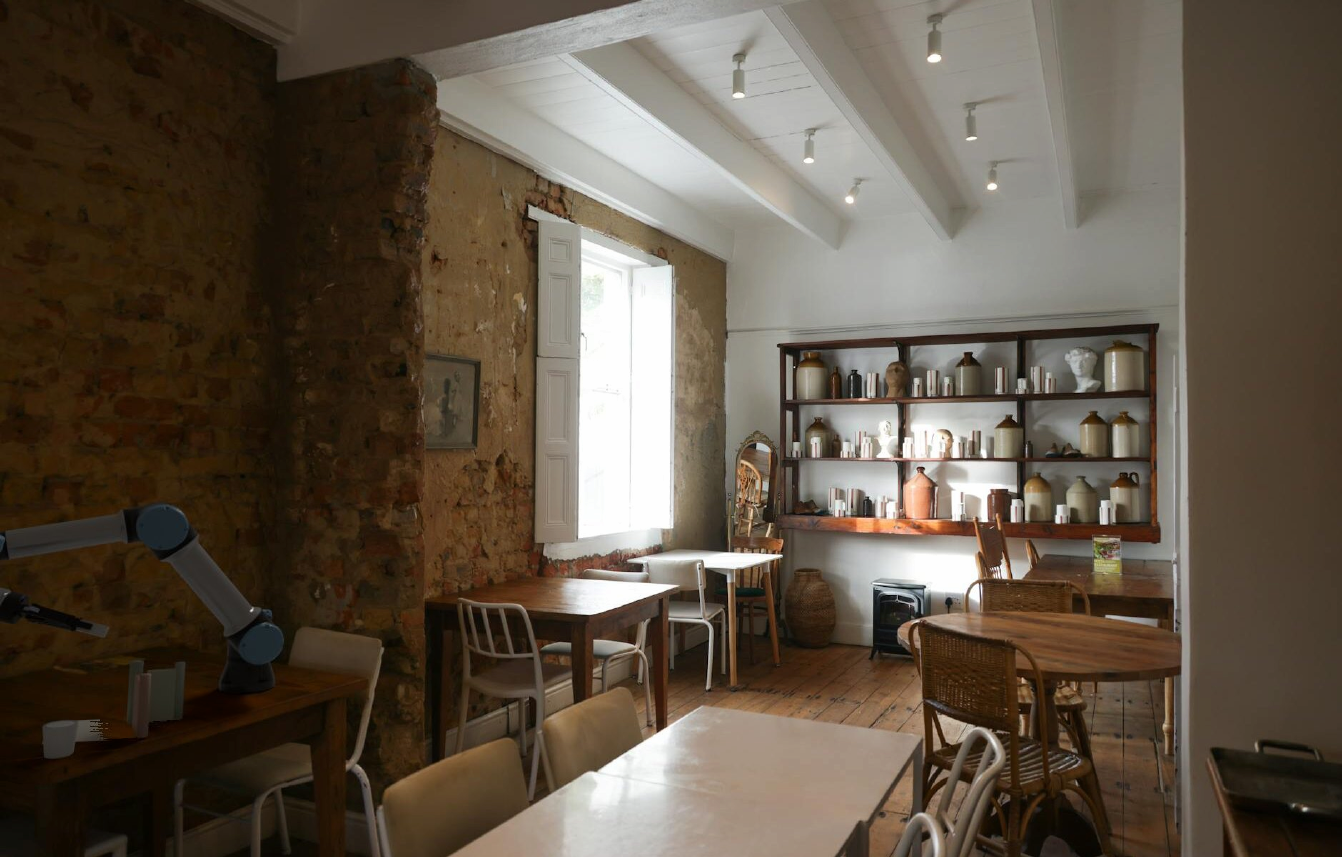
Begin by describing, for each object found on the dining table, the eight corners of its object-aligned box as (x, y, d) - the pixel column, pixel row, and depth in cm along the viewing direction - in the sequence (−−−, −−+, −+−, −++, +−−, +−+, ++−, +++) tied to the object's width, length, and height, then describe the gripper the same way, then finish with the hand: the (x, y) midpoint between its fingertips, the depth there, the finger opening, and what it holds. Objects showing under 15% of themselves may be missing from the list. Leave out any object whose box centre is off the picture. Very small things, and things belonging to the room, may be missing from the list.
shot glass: (80, 755, 203) (82, 724, 203) (45, 761, 198) (46, 730, 198) (71, 747, 207) (73, 717, 208) (36, 754, 202) (38, 723, 203)
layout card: (156, 718, 232) (156, 716, 232) (137, 739, 215) (137, 738, 215) (67, 722, 226) (67, 720, 226) (41, 744, 208) (41, 743, 208)
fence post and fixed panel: (125, 726, 224) (129, 663, 224) (126, 723, 226) (130, 660, 227) (182, 721, 229) (185, 659, 230) (182, 718, 232) (185, 657, 233)
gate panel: (129, 724, 224) (132, 664, 224) (139, 722, 225) (143, 663, 226) (137, 738, 213) (140, 676, 214) (148, 737, 215) (152, 675, 215)
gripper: (2, 625, 221) (103, 651, 227) (-12, 614, 210) (94, 641, 216) (18, 597, 225) (117, 623, 231) (5, 584, 214) (109, 612, 220)
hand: (106, 632), depth 223 cm, fingers closed
